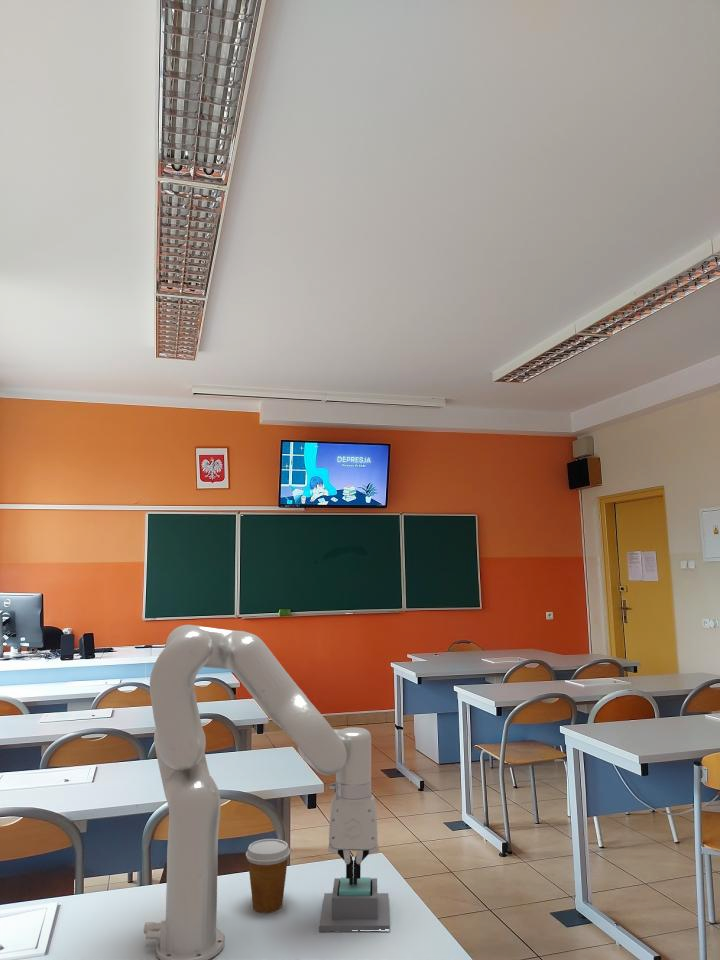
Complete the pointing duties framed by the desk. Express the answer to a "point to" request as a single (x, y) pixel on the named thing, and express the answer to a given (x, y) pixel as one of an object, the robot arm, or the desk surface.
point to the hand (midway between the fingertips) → (353, 881)
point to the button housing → (354, 910)
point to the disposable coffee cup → (267, 873)
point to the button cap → (355, 887)
